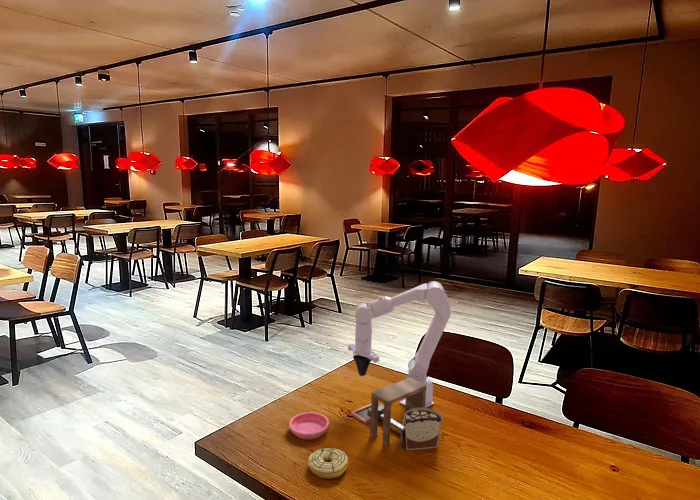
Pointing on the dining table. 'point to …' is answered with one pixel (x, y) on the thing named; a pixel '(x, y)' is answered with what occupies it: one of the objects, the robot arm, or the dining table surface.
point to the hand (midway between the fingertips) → (362, 374)
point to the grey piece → (393, 422)
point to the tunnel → (392, 394)
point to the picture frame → (362, 414)
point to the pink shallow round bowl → (309, 425)
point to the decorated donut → (328, 463)
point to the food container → (421, 428)
